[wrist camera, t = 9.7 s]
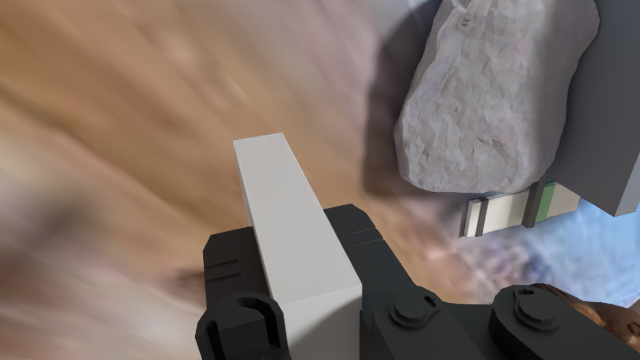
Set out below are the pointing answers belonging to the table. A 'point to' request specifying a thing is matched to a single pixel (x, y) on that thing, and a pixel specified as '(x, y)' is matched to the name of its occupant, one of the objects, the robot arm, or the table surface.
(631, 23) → the gauge plate
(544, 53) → the stone block
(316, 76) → the table surface
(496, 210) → the pale flat strip
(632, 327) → the decorative turtle
